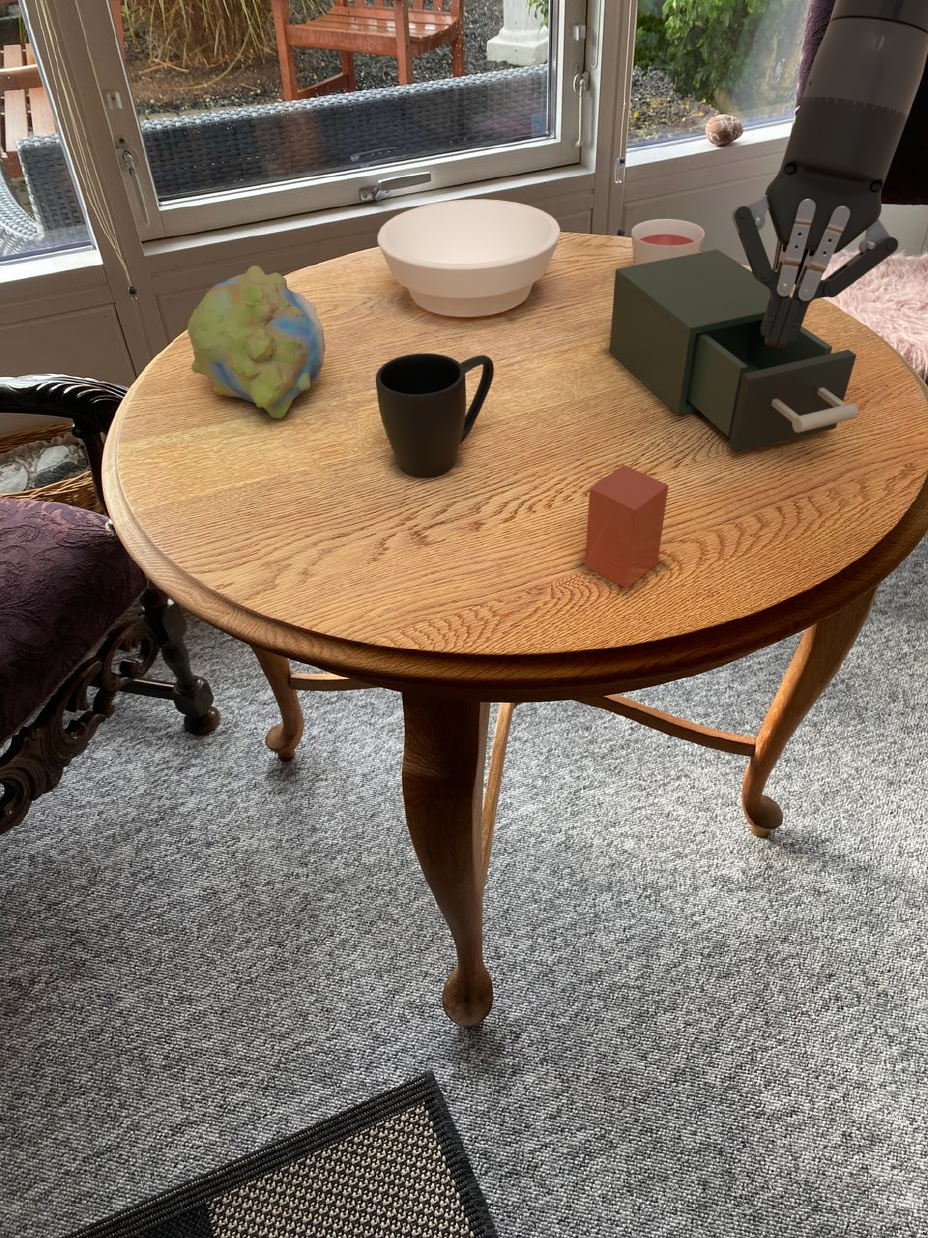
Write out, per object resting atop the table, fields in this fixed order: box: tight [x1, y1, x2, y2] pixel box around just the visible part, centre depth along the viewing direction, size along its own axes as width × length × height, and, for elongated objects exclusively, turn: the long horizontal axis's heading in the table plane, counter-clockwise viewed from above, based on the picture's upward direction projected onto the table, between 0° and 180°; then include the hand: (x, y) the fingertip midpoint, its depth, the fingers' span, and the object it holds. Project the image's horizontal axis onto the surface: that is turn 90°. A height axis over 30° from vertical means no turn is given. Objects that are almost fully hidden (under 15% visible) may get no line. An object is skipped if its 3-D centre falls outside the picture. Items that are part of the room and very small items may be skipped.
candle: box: [630, 218, 706, 266], centre depth 114 cm, size 9×9×6 cm
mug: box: [375, 352, 495, 479], centre depth 85 cm, size 8×12×10 cm
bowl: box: [377, 198, 561, 318], centre depth 112 cm, size 22×22×8 cm
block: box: [583, 464, 669, 589], centre depth 73 cm, size 4×4×8 cm
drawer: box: [687, 320, 859, 455], centre depth 87 cm, size 19×11×8 cm, turn 20°
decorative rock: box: [186, 264, 327, 419], centre depth 93 cm, size 14×16×15 cm
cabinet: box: [608, 248, 792, 417], centre depth 96 cm, size 16×13×10 cm
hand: (774, 345), depth 72 cm, fingers closed
